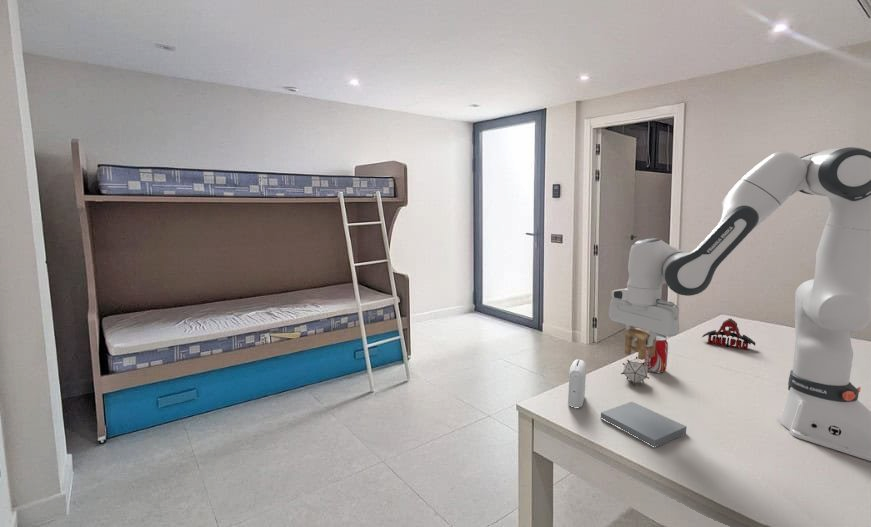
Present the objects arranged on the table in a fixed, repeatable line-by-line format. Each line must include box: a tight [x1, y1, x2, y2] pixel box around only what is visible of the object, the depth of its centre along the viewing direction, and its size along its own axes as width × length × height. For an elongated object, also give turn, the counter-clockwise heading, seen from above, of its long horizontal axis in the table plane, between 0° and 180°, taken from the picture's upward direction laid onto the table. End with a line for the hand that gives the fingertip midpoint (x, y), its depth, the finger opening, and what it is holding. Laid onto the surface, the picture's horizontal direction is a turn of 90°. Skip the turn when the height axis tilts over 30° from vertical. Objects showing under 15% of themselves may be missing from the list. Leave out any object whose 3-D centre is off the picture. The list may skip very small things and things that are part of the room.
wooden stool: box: [624, 327, 656, 361], centre depth 125 cm, size 6×6×7 cm
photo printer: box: [567, 358, 587, 408], centre depth 129 cm, size 10×4×12 cm, turn 156°
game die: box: [620, 356, 650, 386], centre depth 143 cm, size 9×8×10 cm
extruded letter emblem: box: [701, 318, 757, 351], centre depth 177 cm, size 18×4×11 cm, turn 52°
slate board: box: [600, 401, 687, 448], centre depth 116 cm, size 16×13×2 cm
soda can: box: [643, 334, 669, 373], centre depth 152 cm, size 7×7×12 cm
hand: (640, 343), depth 125 cm, fingers closed on wooden stool, 4 cm apart
